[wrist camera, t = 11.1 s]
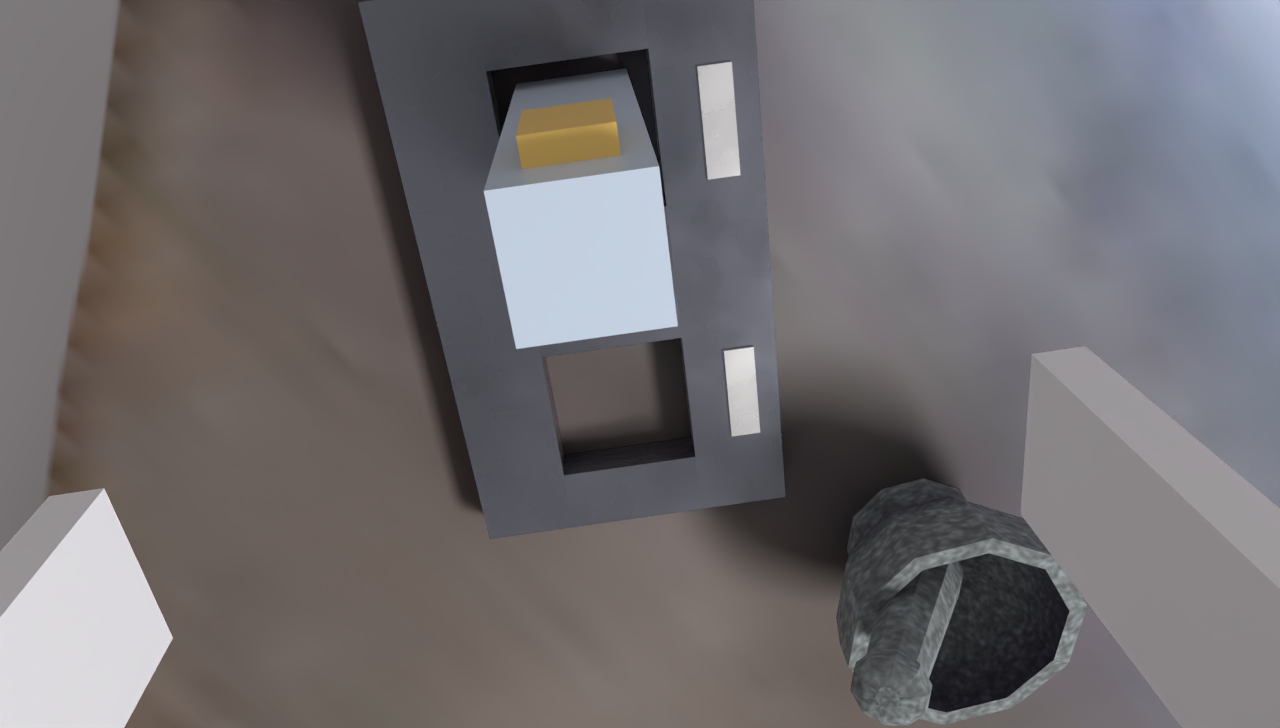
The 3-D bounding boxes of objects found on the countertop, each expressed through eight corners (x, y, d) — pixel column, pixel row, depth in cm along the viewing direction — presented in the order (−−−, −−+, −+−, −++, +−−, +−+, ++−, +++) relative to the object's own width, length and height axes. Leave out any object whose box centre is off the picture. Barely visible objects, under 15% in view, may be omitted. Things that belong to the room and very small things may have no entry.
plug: (535, 190, 35) (516, 349, 23) (512, 60, 33) (476, 156, 21) (639, 176, 35) (677, 326, 23) (623, 45, 33) (654, 131, 21)
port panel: (778, 476, 42) (785, 498, 40) (492, 517, 42) (489, 540, 40) (742, -55, 32) (750, -53, 30) (367, -2, 32) (357, 3, 30)
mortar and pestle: (1051, 482, 43) (1211, 674, 32) (953, 630, 47) (1066, 847, 36) (835, 414, 40) (930, 598, 30) (750, 576, 44) (807, 792, 33)
